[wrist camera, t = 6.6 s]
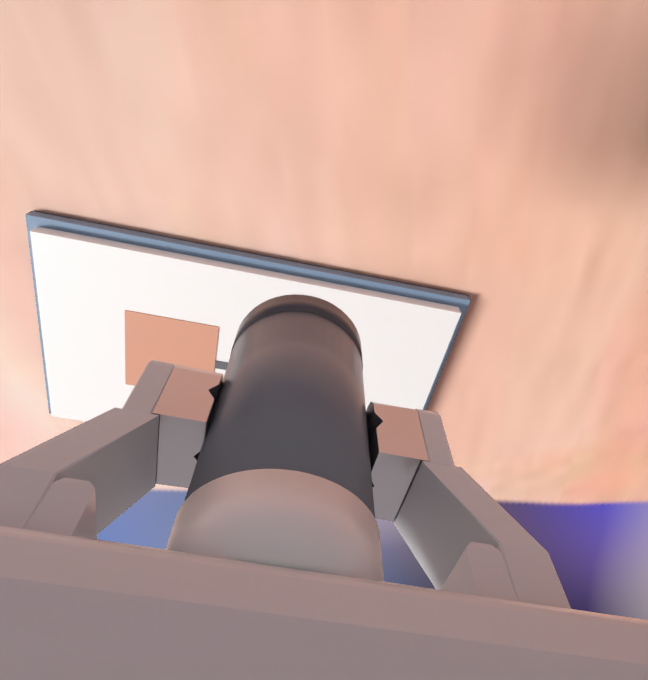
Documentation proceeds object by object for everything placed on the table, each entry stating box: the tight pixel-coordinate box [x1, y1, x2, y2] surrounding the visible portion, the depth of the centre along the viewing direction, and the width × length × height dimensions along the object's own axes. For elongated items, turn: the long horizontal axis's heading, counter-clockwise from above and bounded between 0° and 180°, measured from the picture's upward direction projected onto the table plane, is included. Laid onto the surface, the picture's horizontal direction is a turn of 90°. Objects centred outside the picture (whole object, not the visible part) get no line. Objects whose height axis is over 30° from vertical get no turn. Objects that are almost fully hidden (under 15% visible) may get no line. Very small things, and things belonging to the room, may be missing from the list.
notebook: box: [26, 211, 471, 421], centre depth 29 cm, size 23×13×1 cm, turn 78°
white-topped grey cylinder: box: [165, 294, 384, 582], centre depth 10 cm, size 3×3×7 cm
